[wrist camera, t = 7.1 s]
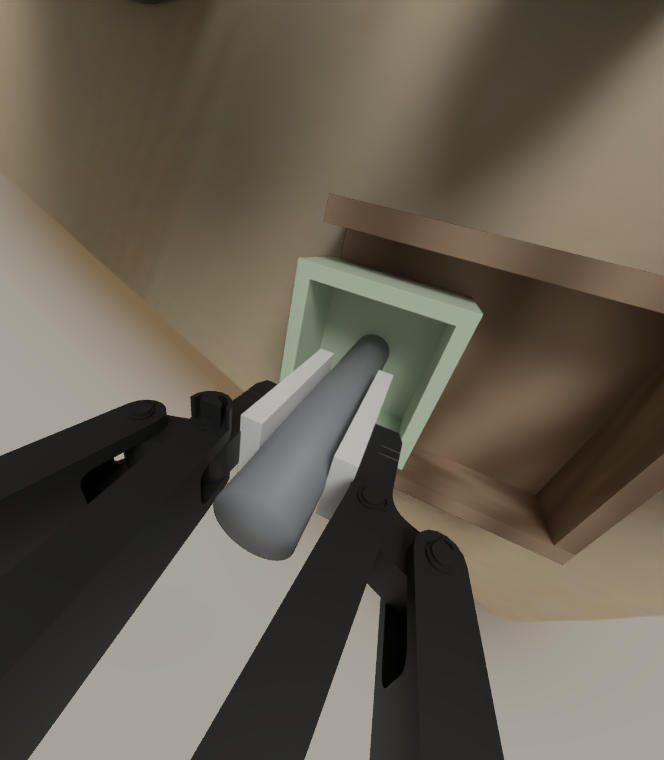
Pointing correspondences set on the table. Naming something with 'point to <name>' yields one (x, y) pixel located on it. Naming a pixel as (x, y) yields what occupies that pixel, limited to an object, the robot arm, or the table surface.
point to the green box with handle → (345, 388)
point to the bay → (530, 381)
